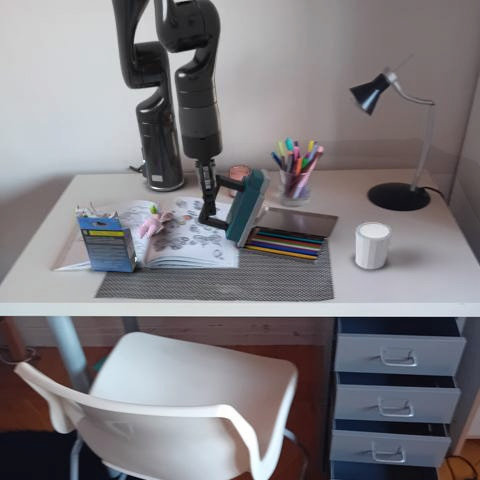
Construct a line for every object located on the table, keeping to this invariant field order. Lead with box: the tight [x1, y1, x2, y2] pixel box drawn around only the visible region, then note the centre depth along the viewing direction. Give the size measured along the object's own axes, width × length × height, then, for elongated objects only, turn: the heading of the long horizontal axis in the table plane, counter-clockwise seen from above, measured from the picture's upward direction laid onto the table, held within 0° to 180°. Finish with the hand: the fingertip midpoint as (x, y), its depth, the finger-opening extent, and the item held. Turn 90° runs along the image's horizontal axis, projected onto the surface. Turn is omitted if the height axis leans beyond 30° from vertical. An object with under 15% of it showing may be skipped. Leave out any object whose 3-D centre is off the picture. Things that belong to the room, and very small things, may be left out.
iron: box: [197, 168, 271, 248], centre depth 103 cm, size 15×7×10 cm
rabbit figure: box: [137, 204, 165, 240], centre depth 111 cm, size 6×6×15 cm
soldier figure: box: [74, 200, 119, 219], centre depth 117 cm, size 8×5×12 cm
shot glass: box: [355, 221, 393, 270], centre depth 97 cm, size 7×7×7 cm
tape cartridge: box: [76, 216, 139, 273], centre depth 99 cm, size 9×4×12 cm, turn 79°
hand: (210, 211), depth 104 cm, fingers closed on iron, 2 cm apart
